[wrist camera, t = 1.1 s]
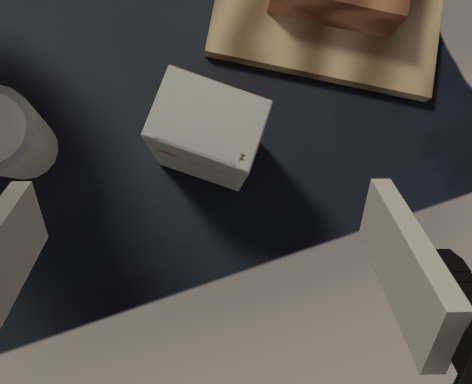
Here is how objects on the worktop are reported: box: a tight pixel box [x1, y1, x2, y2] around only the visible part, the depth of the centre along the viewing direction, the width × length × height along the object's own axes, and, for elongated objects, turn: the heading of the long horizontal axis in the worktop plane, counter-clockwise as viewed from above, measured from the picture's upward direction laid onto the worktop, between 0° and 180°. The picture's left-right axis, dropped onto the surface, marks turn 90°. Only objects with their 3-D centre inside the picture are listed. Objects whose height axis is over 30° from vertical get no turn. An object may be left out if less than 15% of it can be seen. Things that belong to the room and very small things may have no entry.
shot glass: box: [0, 85, 58, 180], centre depth 35 cm, size 7×7×7 cm
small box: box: [141, 65, 273, 191], centre depth 34 cm, size 8×6×10 cm
